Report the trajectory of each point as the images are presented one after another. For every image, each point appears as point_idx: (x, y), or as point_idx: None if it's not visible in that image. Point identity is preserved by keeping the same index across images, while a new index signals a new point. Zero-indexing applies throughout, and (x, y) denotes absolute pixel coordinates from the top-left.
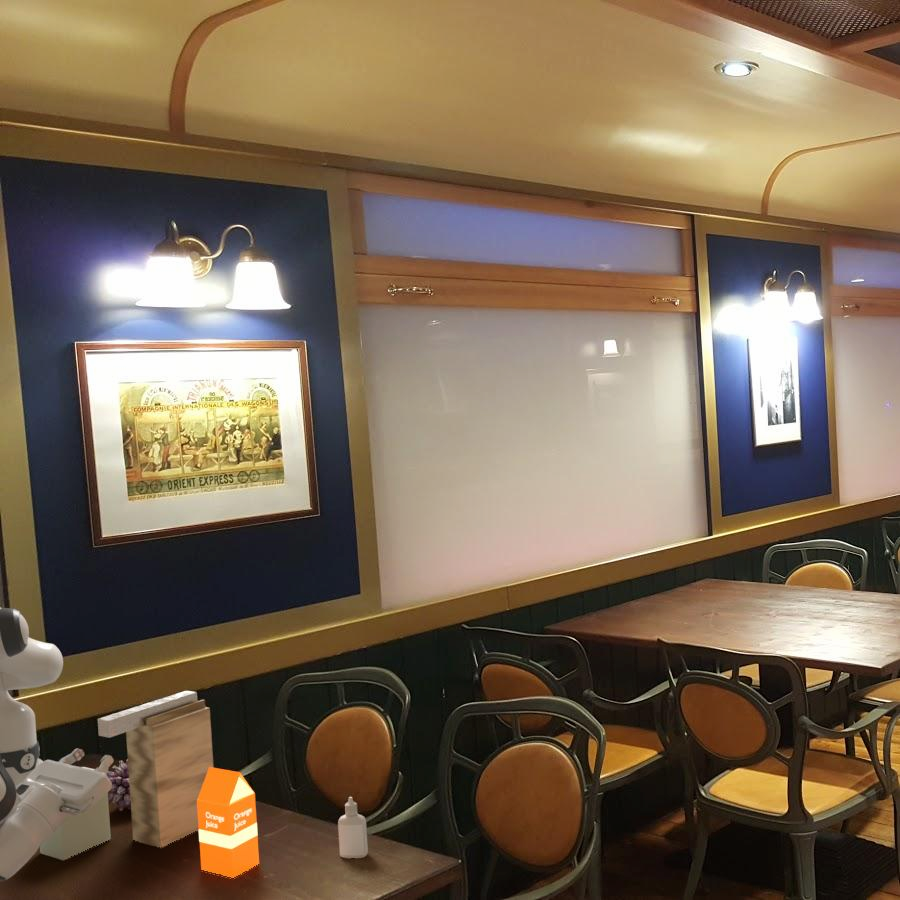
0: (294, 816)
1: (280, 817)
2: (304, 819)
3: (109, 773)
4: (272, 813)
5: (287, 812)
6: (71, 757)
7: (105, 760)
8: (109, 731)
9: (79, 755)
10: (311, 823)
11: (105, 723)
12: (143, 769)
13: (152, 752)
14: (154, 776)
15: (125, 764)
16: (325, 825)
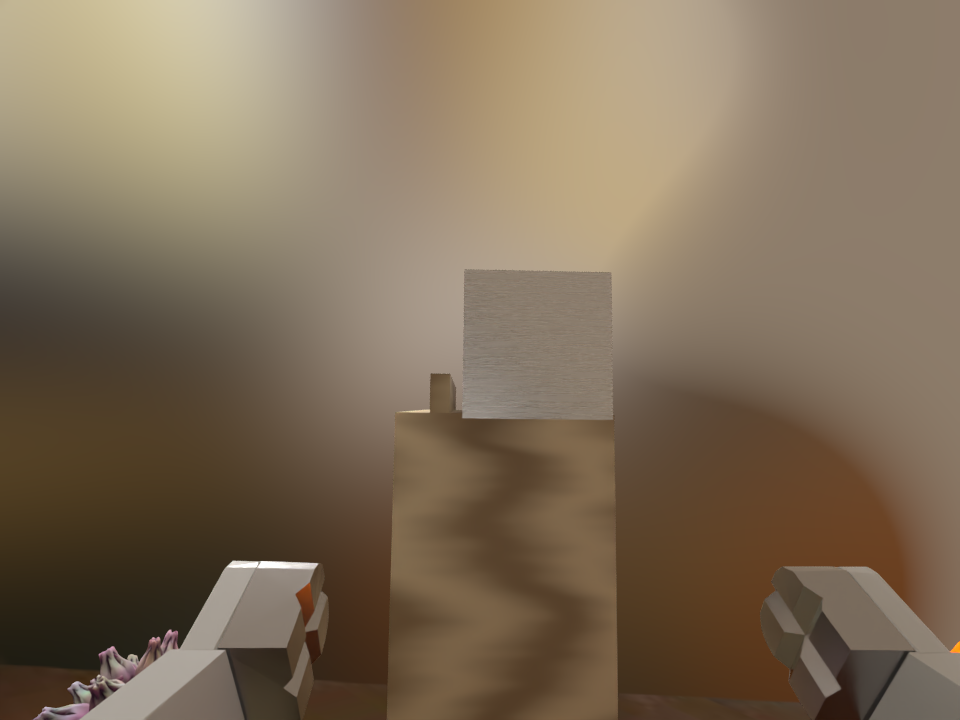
0: (683, 702)
1: (664, 715)
2: (722, 704)
3: (56, 716)
4: (621, 709)
5: (644, 695)
6: (199, 708)
7: (934, 635)
8: (610, 366)
9: (302, 648)
10: (762, 711)
11: (570, 298)
12: (515, 660)
13: (598, 552)
14: (602, 687)
15: (143, 660)
16: (799, 707)
